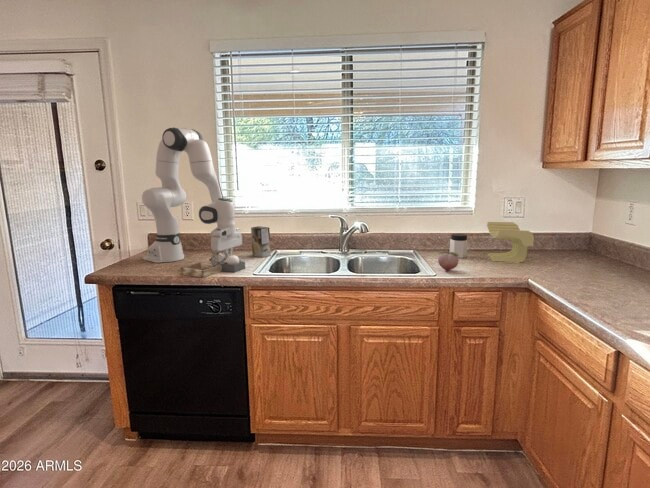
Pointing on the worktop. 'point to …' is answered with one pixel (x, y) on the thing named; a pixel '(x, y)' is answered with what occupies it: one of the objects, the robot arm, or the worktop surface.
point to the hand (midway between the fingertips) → (228, 256)
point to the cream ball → (233, 260)
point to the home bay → (194, 270)
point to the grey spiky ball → (217, 258)
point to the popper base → (233, 266)
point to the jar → (459, 244)
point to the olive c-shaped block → (515, 235)
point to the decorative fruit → (448, 260)
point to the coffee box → (260, 241)
